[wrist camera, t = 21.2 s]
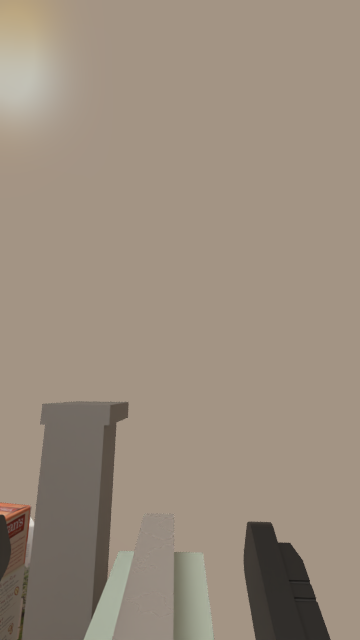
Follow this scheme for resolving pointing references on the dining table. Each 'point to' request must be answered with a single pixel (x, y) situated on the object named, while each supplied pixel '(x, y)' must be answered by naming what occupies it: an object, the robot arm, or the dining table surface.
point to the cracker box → (13, 568)
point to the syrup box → (25, 580)
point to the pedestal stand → (71, 519)
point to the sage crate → (189, 599)
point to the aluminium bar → (149, 584)
